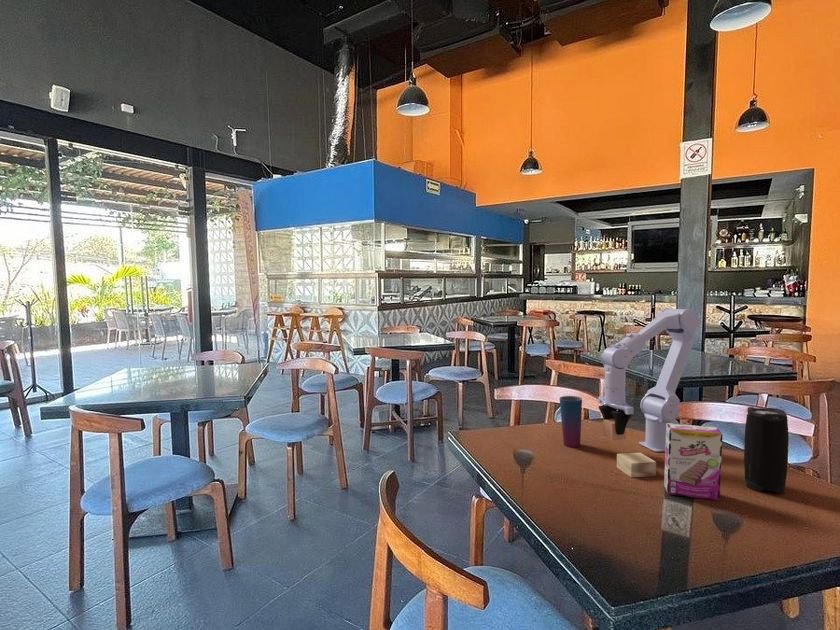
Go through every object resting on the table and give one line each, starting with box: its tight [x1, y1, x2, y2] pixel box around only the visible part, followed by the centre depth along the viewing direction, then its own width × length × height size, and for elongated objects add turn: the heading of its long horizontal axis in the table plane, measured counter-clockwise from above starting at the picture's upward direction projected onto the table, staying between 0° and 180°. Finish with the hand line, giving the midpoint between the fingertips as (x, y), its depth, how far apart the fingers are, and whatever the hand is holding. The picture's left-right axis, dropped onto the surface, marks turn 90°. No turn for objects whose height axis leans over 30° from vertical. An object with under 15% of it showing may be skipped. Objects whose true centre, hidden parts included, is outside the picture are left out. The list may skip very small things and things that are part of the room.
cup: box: [559, 395, 583, 448], centre depth 144 cm, size 7×7×15 cm
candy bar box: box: [663, 423, 724, 501], centre depth 108 cm, size 11×5×16 cm, turn 71°
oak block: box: [616, 452, 657, 478], centre depth 123 cm, size 7×7×4 cm
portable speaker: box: [743, 406, 790, 495], centre depth 111 cm, size 9×9×20 cm
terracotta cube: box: [602, 419, 627, 441], centre depth 137 cm, size 4×4×5 cm
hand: (614, 431), depth 137 cm, fingers closed on terracotta cube, 4 cm apart
